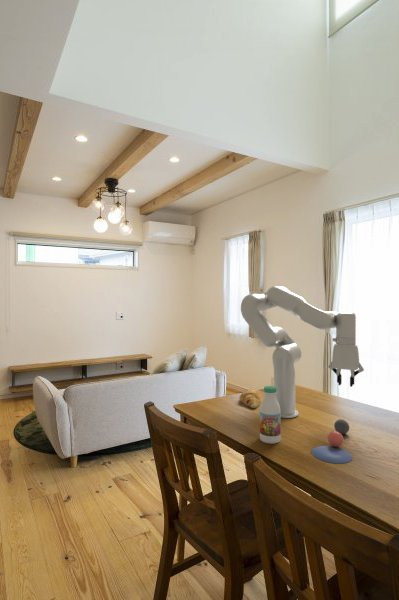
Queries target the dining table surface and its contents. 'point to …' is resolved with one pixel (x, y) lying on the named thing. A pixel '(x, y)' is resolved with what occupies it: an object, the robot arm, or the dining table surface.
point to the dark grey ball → (341, 426)
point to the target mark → (331, 454)
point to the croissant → (250, 398)
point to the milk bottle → (270, 417)
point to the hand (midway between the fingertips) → (345, 384)
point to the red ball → (335, 439)
